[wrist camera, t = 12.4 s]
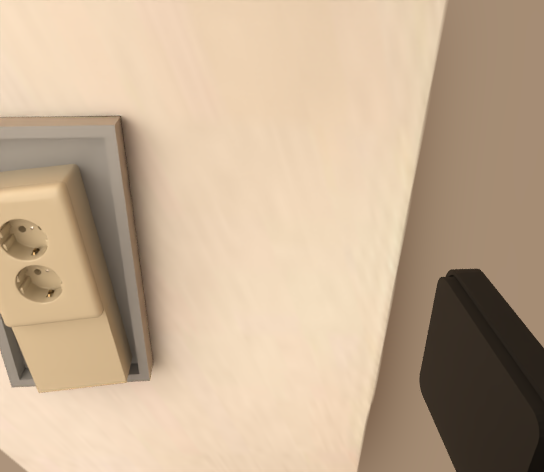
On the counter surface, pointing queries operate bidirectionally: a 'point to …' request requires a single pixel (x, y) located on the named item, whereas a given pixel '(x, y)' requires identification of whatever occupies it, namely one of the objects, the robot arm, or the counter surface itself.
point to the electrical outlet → (58, 282)
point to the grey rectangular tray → (105, 210)
